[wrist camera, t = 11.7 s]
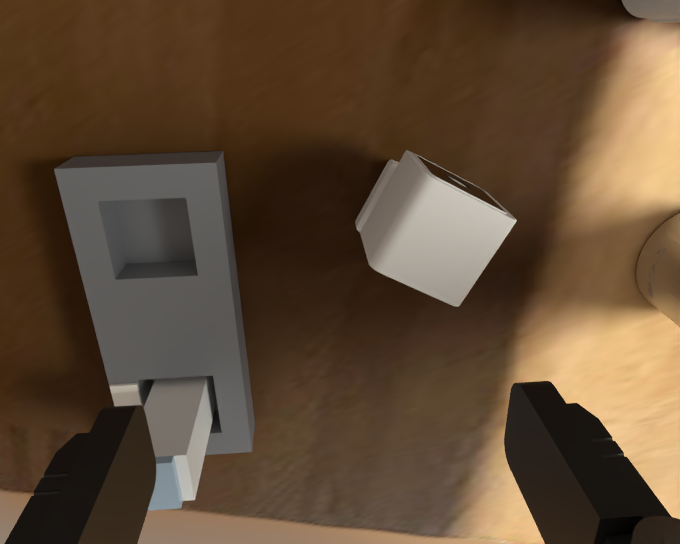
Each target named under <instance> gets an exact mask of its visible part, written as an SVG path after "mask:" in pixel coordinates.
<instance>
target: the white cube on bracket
mask: <svg viewBox="0 0 680 544" xmlns="http://www.w3.org/2000/svg"><path fill="white" fill-rule="evenodd" d="M516 221H517V220H516V219H515V218H514V217H513V216H512V215H511V214H510V213H509V212H508V211H507V210H506V209H505V208H504V207H502V206H501V205H500V204H499V203H498V202H497V201H496V200H495V199H494V198H493V197H492V196H491V195H490V194H488V193H487V192H486V191H484V190H483V189H481V188H479V187H478V186H476V185H474V184H472V183H470V182H468V181H466V180H464V179H463V178H461V177H459V176H457V175H455V174H453V173H451V172H449V171H447V170H445V169H443V168H441V167H440V166H438V165H436V164H434V163H432V162H430V161H428V160H426V159H424V158H422V157H420V156H418V155H416V154H414V153H412V152H410V151H405V153H404V154H403V156H402V158H401V160H400V162H399V163H398V162H396V161H394V160H389V161H388V162H387V164H386V166H385V168H384V169H383V171H382V173H381V175H380V177H379V179H378V180H377V182H376V184H375V186H374V188H373V189H372V191H371V193H370V195H369V197H368V199H367V200H366V202H365V204H364V206H363V208H362V209H361V211H360V213H359V215H358V217H357V219H356V220H355V225H356V229H357V231H359V232H360V235H361V238H362V242H363V245H364V249H365V253H366V256H367V260H368V263H369V265H370V266H371V267H372V268H373V269H374V270H376V271H377V272H379V273H381V274H383V275H385V276H387V277H390V278H392V279H394V280H396V281H399V282H401V283H403V284H405V285H407V286H410V287H412V288H414V289H416V290H419V291H421V292H423V293H425V294H427V295H430V296H432V297H434V298H436V299H439V300H441V301H443V302H445V303H448V304H450V305H452V306H455V307H459V306H460V304H461V303H462V301H463V300H464V298H465V297H466V296H467V294H468V293H469V291H470V290H471V288H472V287H473V285H474V284H475V282H476V281H477V279H478V278H479V276H480V275H481V273H482V272H483V270H484V269H485V267H486V266H487V264H488V263H489V261H490V260H491V258H492V257H493V255H494V254H495V253H496V251H497V250H498V248H499V247H500V245H501V244H502V242H503V241H504V239H505V238H506V236H507V235H508V233H509V232H510V230H511V229H512V227H513V226H514V224H515V223H516Z"/></svg>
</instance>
